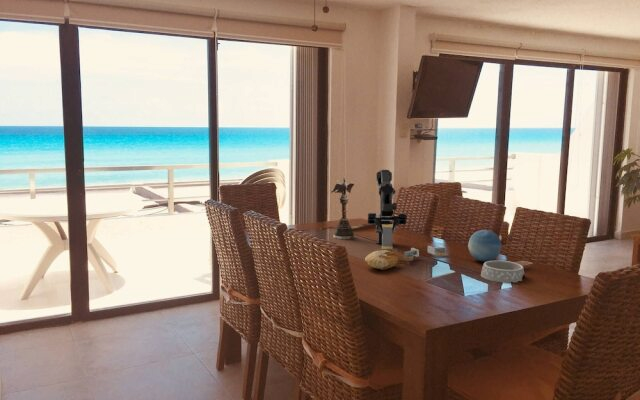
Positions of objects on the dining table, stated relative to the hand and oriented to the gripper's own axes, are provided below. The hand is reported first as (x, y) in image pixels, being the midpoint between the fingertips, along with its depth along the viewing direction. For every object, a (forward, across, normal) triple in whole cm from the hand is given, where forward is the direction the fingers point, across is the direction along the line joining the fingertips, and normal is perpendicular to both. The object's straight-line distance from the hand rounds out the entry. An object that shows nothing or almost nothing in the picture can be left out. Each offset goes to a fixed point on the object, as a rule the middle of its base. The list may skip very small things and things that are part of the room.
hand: (387, 233), depth 263 cm
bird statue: (-27, -24, +45) cm, 58 cm away
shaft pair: (+6, +18, +12) cm, 22 cm away
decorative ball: (+10, +46, +8) cm, 47 cm away
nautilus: (+21, 0, -3) cm, 21 cm away
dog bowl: (+28, +48, -10) cm, 56 cm away
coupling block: (+6, 0, +7) cm, 9 cm away
